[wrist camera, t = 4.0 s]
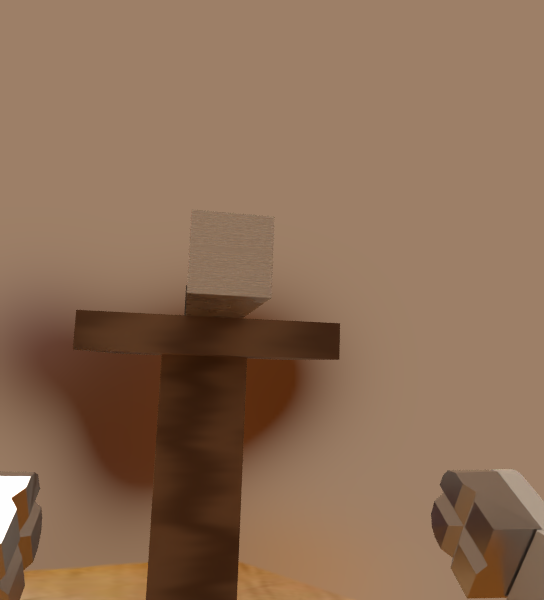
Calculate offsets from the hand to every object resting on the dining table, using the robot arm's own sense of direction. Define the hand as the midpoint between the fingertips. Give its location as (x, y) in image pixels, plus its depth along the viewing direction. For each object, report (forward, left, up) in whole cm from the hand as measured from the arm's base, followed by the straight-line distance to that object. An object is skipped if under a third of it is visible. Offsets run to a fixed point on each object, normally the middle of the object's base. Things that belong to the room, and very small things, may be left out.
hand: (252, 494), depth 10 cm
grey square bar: (0, -18, +5) cm, 19 cm away
